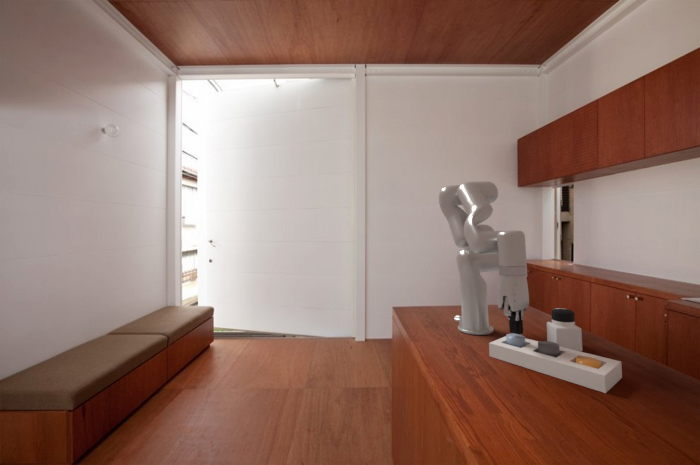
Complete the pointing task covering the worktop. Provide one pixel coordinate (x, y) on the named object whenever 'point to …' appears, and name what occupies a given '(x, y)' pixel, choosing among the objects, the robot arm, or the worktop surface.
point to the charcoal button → (549, 348)
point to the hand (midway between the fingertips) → (516, 332)
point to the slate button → (515, 340)
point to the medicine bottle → (564, 330)
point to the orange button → (588, 361)
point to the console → (560, 364)
